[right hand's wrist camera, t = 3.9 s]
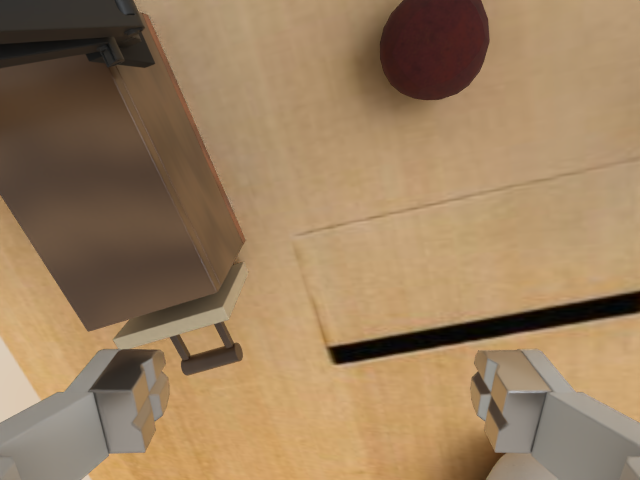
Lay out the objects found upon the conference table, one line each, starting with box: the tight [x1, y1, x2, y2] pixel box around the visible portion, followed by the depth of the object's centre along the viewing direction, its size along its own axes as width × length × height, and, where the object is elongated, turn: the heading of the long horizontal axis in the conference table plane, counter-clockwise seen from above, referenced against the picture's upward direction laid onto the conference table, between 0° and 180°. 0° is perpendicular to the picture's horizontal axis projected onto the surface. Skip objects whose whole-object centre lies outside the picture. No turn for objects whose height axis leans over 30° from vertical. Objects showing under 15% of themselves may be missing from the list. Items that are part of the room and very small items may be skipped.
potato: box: [380, 0, 489, 100], centre depth 28 cm, size 7×8×7 cm
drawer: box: [113, 262, 249, 375], centre depth 33 cm, size 24×9×8 cm, turn 19°
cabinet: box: [0, 12, 246, 331], centre depth 31 cm, size 20×11×10 cm, turn 19°
